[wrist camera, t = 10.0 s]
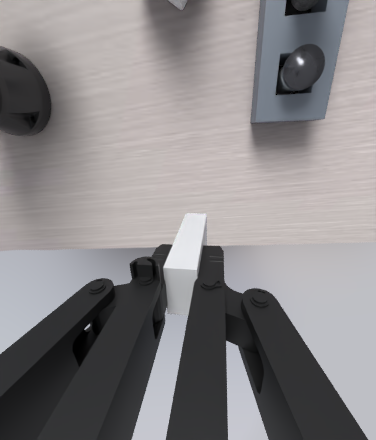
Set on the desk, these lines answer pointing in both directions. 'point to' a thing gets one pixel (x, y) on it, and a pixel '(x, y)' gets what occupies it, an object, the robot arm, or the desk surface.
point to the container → (179, 3)
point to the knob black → (300, 69)
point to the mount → (282, 48)
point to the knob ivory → (304, 4)
